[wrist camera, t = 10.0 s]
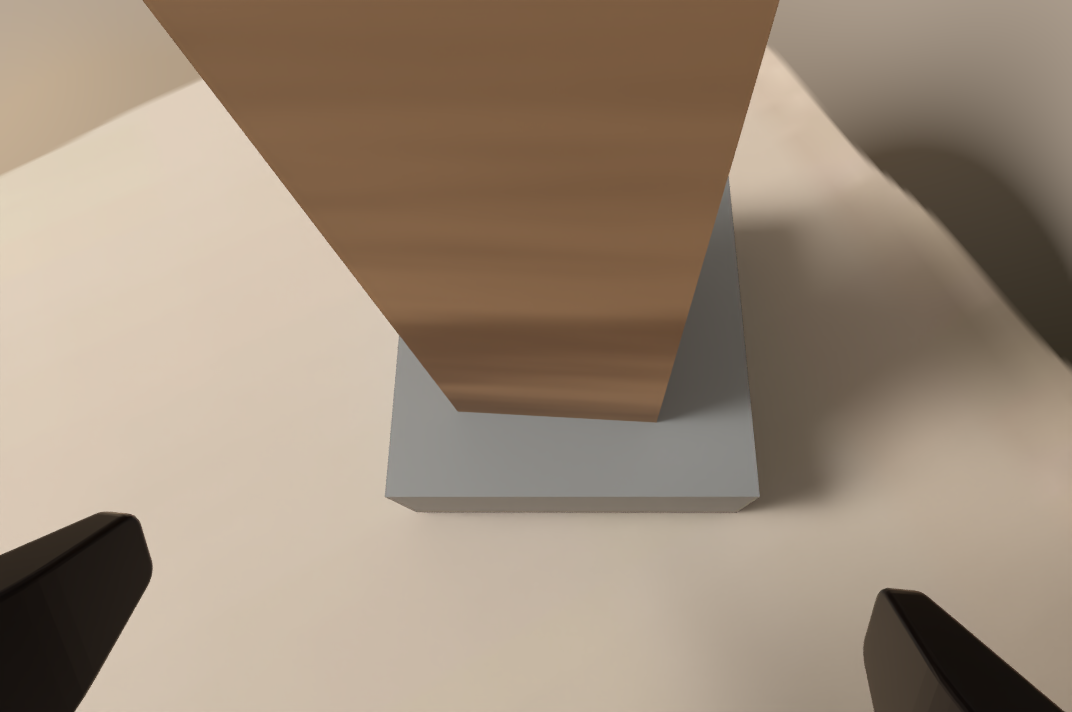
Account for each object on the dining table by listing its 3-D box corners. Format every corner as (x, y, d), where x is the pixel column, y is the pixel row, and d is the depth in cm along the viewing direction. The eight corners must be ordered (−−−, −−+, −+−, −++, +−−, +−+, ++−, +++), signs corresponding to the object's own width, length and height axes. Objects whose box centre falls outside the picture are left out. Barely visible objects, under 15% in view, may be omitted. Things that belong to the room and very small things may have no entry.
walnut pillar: (656, 422, 17) (795, -56, 5) (457, 411, 17) (112, -39, 5) (660, 242, 18) (770, -458, 6) (479, 238, 19) (256, -413, 7)
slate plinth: (736, 512, 19) (759, 496, 16) (416, 512, 20) (384, 496, 17) (712, 226, 22) (728, 170, 19) (436, 236, 23) (412, 184, 20)
